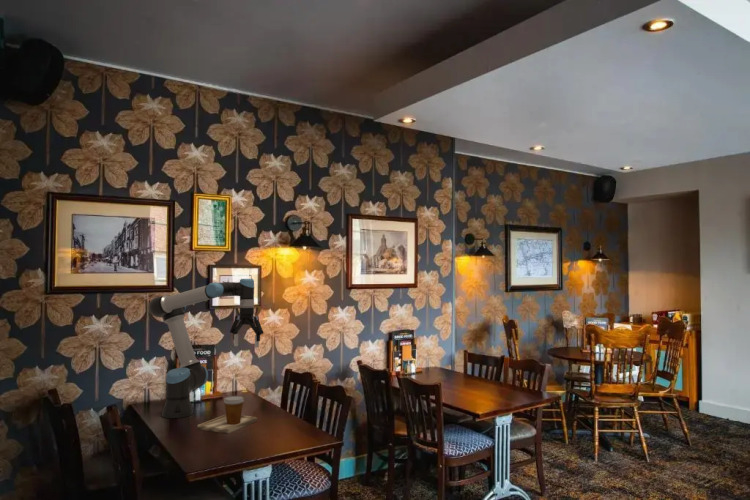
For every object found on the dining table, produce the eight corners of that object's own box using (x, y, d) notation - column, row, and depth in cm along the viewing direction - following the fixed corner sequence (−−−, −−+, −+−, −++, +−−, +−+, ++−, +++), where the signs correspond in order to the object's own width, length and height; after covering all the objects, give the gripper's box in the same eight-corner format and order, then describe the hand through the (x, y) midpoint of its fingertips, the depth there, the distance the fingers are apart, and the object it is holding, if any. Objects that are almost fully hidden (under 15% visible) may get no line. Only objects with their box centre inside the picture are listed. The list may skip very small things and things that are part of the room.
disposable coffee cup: (247, 421, 252) (248, 396, 253) (234, 426, 243) (235, 401, 244) (232, 419, 256) (232, 394, 257) (219, 424, 247) (219, 399, 248)
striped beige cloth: (197, 429, 243) (197, 424, 244) (227, 417, 264) (227, 413, 264) (227, 433, 236) (228, 429, 236) (256, 421, 257) (256, 417, 257)
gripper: (223, 307, 278) (223, 346, 277) (261, 308, 268) (261, 348, 267) (232, 306, 285) (232, 344, 284) (270, 307, 275) (269, 347, 274)
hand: (246, 346), depth 276 cm, fingers open, 13 cm apart
